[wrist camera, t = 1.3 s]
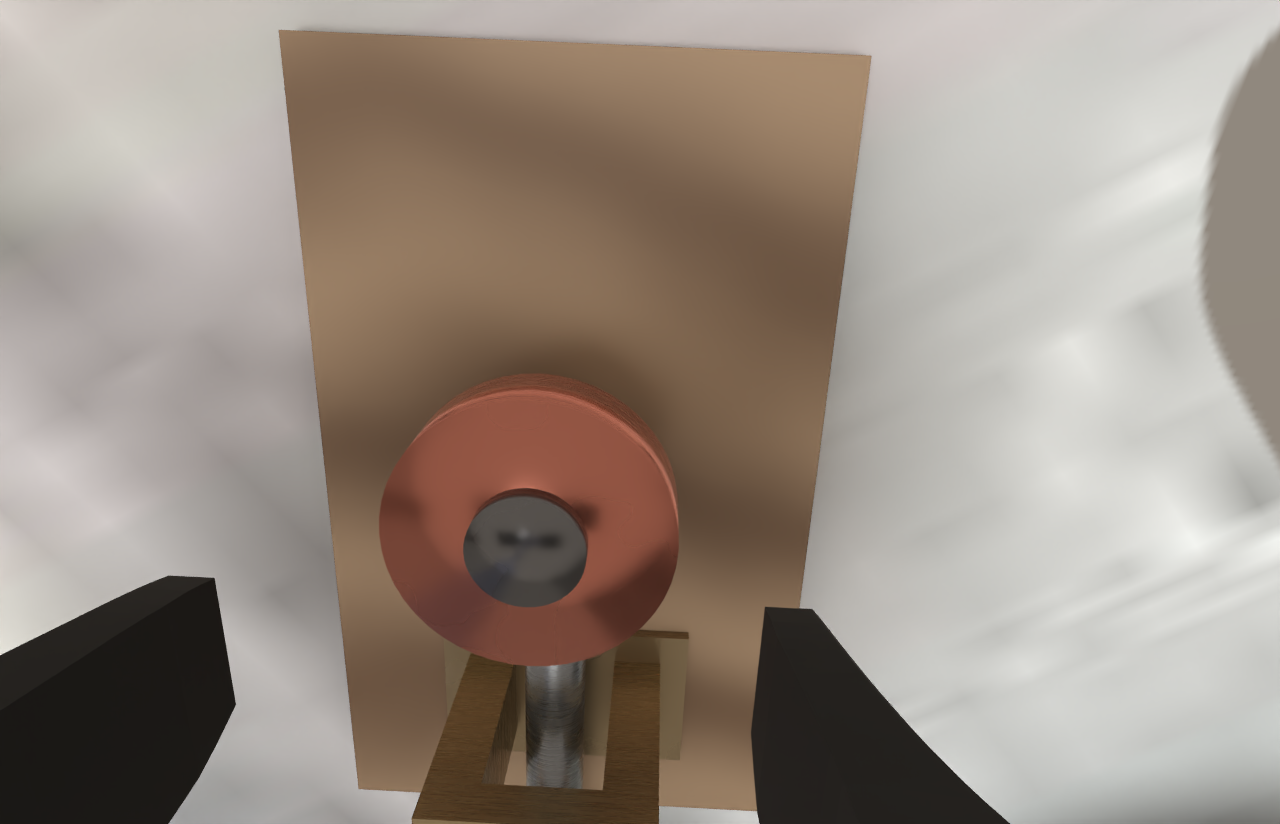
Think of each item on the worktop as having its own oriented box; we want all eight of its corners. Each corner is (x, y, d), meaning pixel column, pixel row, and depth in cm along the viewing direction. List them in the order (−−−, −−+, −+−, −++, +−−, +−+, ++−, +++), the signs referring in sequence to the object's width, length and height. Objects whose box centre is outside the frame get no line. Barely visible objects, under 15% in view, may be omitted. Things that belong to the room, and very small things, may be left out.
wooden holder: (679, 751, 23) (683, 946, 17) (451, 739, 23) (388, 928, 18) (688, 632, 21) (695, 803, 16) (445, 619, 21) (373, 786, 16)
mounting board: (769, 790, 24) (772, 812, 23) (368, 767, 24) (358, 788, 23) (862, 58, 17) (871, 55, 16) (295, 33, 17) (278, 30, 16)
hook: (649, 858, 23) (644, 1074, 18) (470, 848, 23) (415, 1061, 18) (682, 327, 17) (689, 418, 12) (448, 316, 17) (358, 402, 12)
